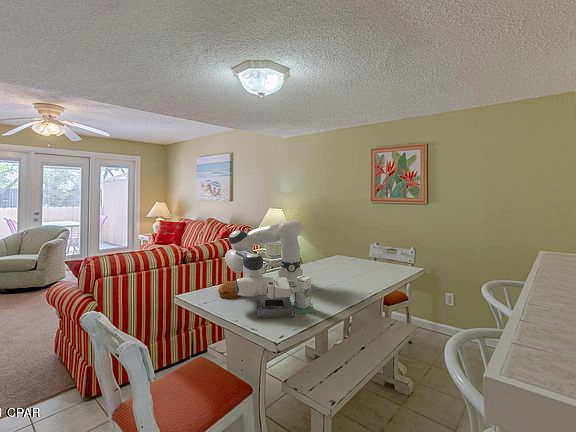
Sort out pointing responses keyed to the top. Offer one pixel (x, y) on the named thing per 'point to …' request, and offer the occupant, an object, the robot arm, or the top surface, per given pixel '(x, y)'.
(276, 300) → the iron collar
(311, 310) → the rubber mat
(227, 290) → the croissant
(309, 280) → the syrup box
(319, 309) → the top surface
